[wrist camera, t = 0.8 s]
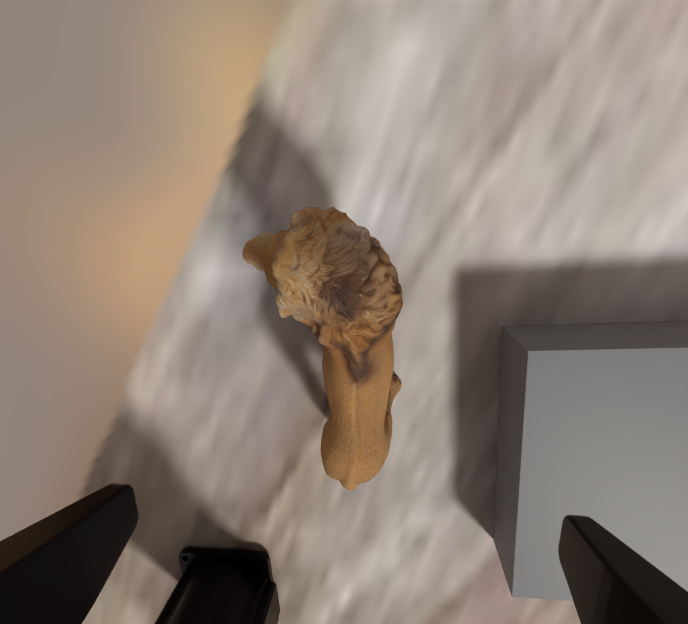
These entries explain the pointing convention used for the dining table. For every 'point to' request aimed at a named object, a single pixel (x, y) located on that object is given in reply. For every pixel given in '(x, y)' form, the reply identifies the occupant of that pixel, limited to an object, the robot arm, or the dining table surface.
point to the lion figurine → (341, 328)
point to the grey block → (591, 445)
